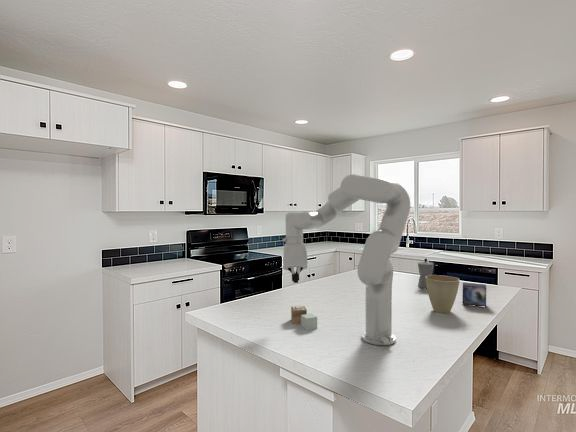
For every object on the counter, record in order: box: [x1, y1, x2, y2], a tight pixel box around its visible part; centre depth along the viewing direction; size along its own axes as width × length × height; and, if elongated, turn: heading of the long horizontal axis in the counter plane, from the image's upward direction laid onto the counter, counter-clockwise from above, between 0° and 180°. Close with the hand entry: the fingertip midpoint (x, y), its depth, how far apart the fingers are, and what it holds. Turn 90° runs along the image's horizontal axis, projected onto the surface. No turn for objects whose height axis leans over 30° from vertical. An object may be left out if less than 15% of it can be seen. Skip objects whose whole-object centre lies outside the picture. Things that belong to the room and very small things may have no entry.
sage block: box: [300, 313, 318, 331], centre depth 139 cm, size 5×5×5 cm
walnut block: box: [290, 305, 308, 325], centre depth 146 cm, size 6×6×6 cm
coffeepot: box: [417, 258, 437, 289], centre depth 209 cm, size 15×9×18 cm, turn 118°
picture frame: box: [462, 282, 487, 308], centre depth 169 cm, size 11×6×10 cm, turn 62°
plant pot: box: [426, 274, 460, 314], centre depth 160 cm, size 15×15×16 cm
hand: (295, 282), depth 145 cm, fingers closed
